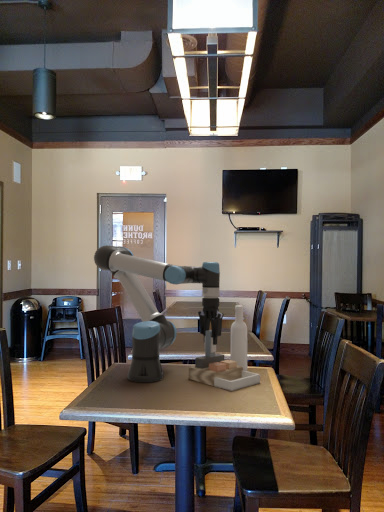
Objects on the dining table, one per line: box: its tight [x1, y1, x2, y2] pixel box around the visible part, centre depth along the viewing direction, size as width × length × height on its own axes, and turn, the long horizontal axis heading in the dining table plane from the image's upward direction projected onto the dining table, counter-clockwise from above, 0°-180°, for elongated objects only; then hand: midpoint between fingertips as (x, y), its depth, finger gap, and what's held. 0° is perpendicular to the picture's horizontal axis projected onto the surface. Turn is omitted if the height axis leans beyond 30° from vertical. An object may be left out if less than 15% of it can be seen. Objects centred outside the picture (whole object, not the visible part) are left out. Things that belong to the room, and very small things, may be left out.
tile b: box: [220, 359, 237, 369], centre depth 178 cm, size 5×5×2 cm
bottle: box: [229, 304, 248, 371], centre depth 193 cm, size 8×8×30 cm
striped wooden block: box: [188, 365, 243, 387], centre depth 178 cm, size 15×18×5 cm
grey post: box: [194, 329, 225, 369], centre depth 181 cm, size 4×14×15 cm, turn 134°
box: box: [213, 370, 261, 392], centre depth 170 cm, size 9×18×4 cm, turn 133°
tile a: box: [209, 362, 226, 372], centre depth 173 cm, size 5×5×2 cm
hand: (210, 351), depth 181 cm, fingers closed on grey post, 3 cm apart
